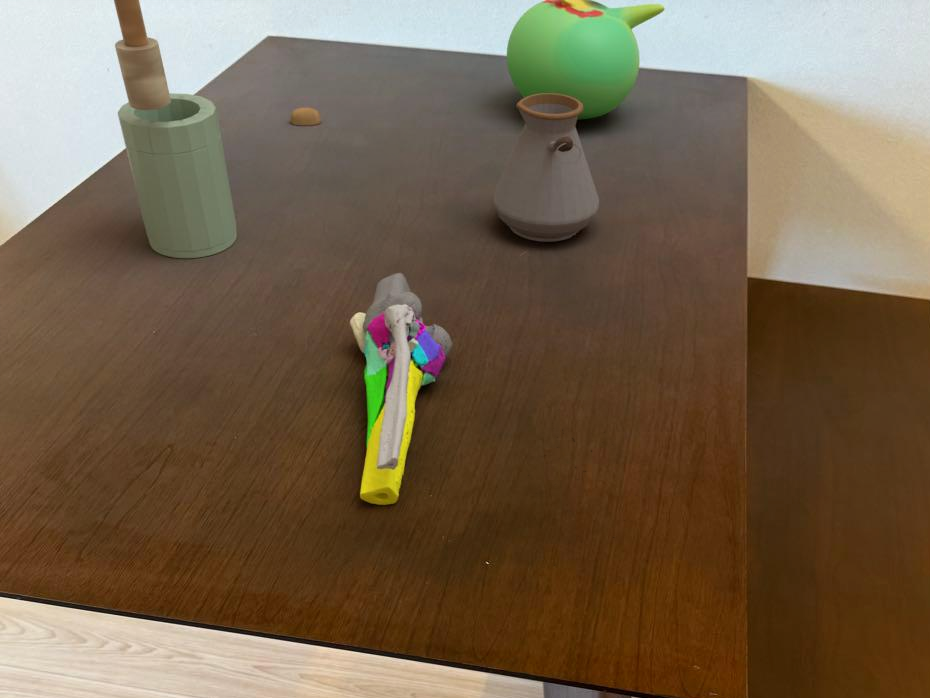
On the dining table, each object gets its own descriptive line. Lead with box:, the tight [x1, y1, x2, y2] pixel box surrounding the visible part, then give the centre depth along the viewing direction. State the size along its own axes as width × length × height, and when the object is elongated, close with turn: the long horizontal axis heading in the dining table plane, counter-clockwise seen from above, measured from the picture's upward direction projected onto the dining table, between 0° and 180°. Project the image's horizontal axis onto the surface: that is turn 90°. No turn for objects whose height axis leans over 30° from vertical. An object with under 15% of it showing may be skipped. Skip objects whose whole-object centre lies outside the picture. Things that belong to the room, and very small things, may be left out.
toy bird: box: [506, 0, 666, 121], centre depth 125 cm, size 18×17×15 cm
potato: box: [289, 106, 322, 126], centre depth 124 cm, size 3×4×2 cm, turn 99°
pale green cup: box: [117, 92, 238, 259], centre depth 96 cm, size 9×9×13 cm
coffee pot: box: [492, 93, 600, 243], centre depth 97 cm, size 21×12×15 cm, turn 4°
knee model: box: [349, 272, 453, 506], centre depth 78 cm, size 9×8×25 cm
